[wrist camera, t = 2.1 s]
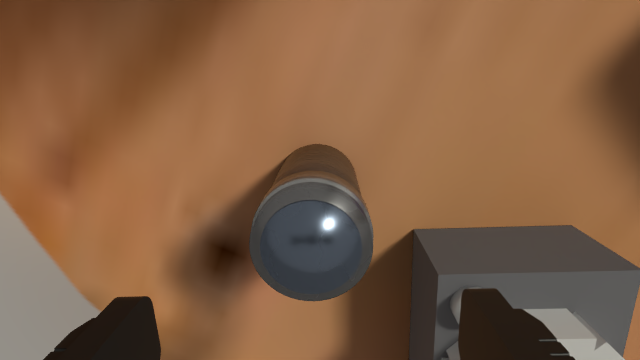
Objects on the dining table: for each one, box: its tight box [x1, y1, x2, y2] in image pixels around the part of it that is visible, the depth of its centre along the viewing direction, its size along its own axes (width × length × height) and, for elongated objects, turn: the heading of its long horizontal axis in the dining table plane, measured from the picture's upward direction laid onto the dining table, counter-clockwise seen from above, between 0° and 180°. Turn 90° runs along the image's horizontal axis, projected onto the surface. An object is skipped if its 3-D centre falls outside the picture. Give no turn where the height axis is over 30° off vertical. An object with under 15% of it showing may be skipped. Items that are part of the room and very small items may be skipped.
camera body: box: [409, 225, 640, 360], centre depth 20 cm, size 12×9×7 cm
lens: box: [249, 144, 373, 301], centre depth 17 cm, size 5×5×8 cm
